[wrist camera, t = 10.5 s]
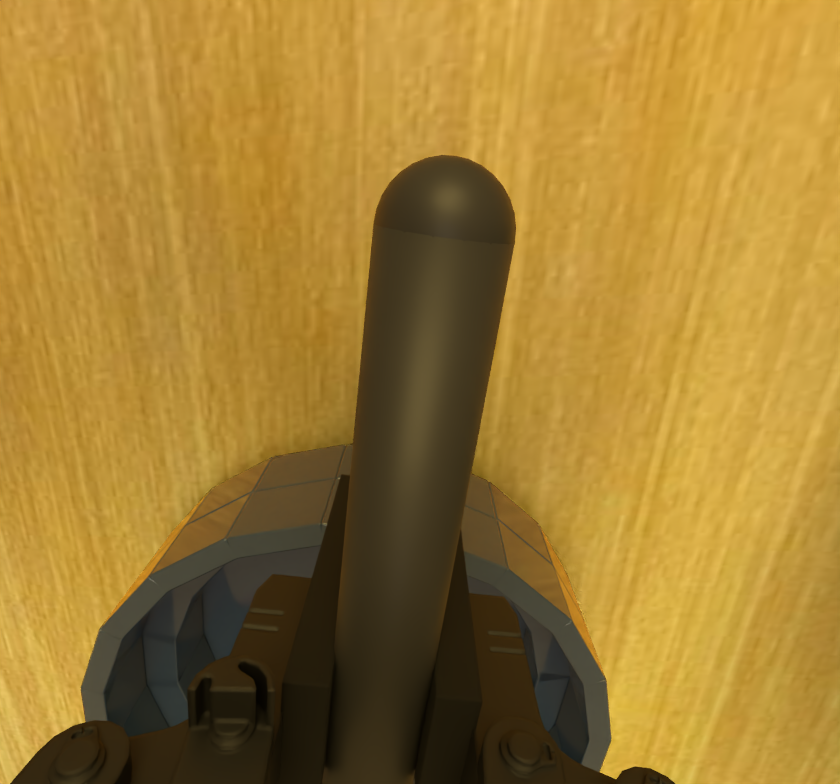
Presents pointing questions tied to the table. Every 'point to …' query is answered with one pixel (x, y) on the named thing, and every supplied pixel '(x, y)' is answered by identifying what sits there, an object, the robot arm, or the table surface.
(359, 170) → the table surface
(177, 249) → the table surface
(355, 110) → the table surface
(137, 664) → the bowl
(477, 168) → the ladle
